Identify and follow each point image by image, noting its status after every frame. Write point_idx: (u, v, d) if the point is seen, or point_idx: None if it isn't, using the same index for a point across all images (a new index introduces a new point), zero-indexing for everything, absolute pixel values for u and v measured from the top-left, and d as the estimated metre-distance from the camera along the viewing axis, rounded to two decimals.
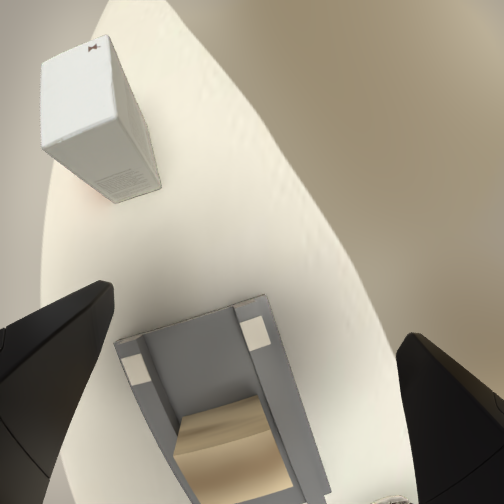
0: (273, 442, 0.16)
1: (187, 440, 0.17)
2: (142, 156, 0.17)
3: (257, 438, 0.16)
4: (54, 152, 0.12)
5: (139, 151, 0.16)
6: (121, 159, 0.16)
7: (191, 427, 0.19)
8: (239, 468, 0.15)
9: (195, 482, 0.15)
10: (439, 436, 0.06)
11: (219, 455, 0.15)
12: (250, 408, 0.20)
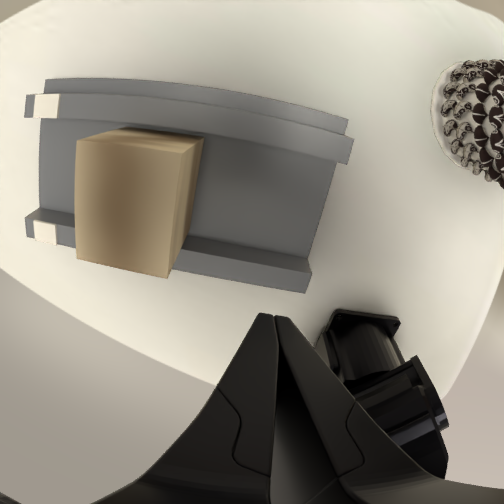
0: (94, 144, 0.12)
1: None
2: None
3: (80, 159, 0.12)
4: None
5: None
6: None
7: None
8: (112, 201, 0.13)
9: (116, 259, 0.14)
10: (281, 445, 0.06)
11: (87, 212, 0.13)
12: None
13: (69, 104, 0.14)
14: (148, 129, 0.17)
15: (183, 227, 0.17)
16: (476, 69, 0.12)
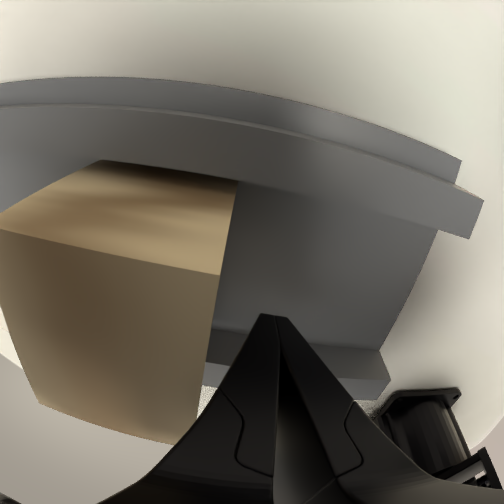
0: (14, 236, 0.05)
1: None
2: None
3: None
4: None
5: None
6: None
7: None
8: (73, 348, 0.06)
9: (102, 420, 0.07)
10: (280, 445, 0.06)
11: (35, 353, 0.06)
12: None
13: (6, 127, 0.07)
14: (138, 165, 0.10)
15: None
16: None
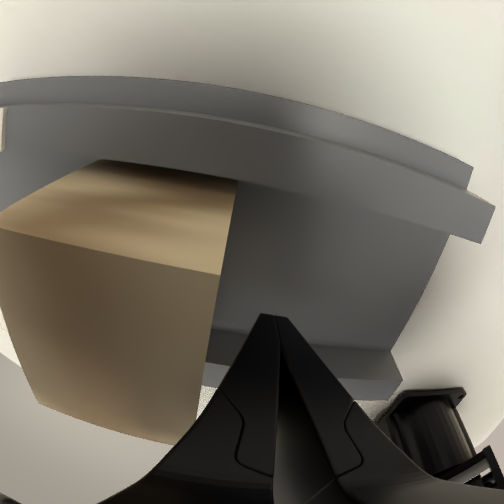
0: (14, 235, 0.05)
1: None
2: None
3: None
4: None
5: None
6: None
7: None
8: (72, 348, 0.06)
9: (102, 420, 0.07)
10: (280, 445, 0.06)
11: (34, 353, 0.06)
12: None
13: (19, 126, 0.07)
14: (137, 165, 0.10)
15: None
16: None
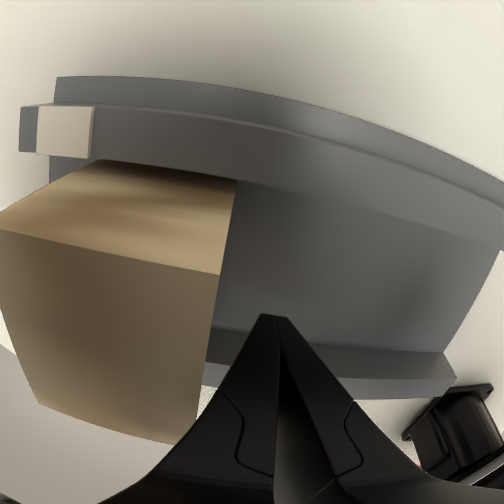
0: (13, 235, 0.05)
1: None
2: None
3: None
4: None
5: None
6: None
7: None
8: (72, 348, 0.06)
9: (102, 420, 0.07)
10: (280, 445, 0.06)
11: (34, 354, 0.06)
12: None
13: (115, 130, 0.08)
14: (137, 165, 0.10)
15: None
16: None
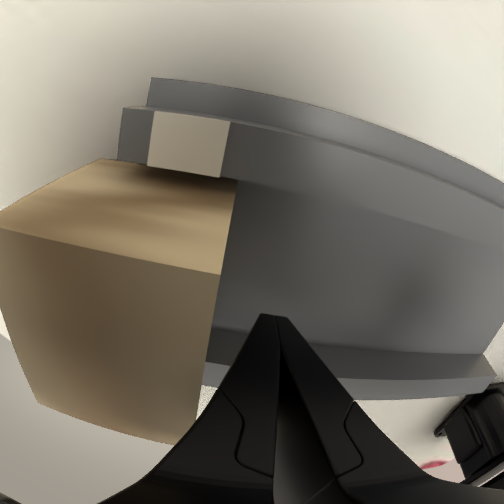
0: (13, 235, 0.05)
1: None
2: None
3: None
4: None
5: None
6: None
7: None
8: (72, 348, 0.06)
9: (101, 419, 0.07)
10: (280, 445, 0.06)
11: (34, 353, 0.06)
12: None
13: (253, 151, 0.08)
14: (137, 164, 0.10)
15: None
16: None
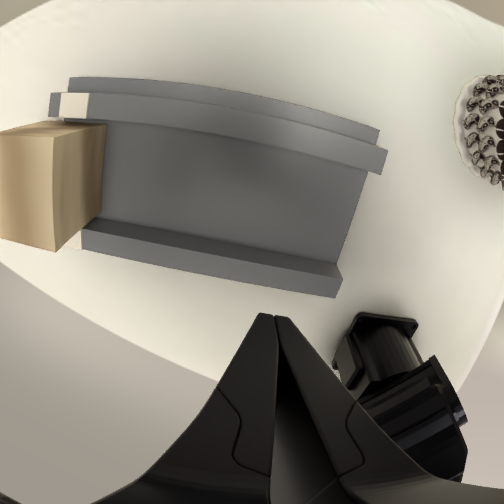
0: None
1: None
2: None
3: None
4: None
5: None
6: None
7: None
8: (11, 184, 0.12)
9: (19, 236, 0.14)
10: (281, 445, 0.06)
11: None
12: None
13: (99, 104, 0.14)
14: (62, 121, 0.16)
15: (82, 207, 0.16)
16: (498, 85, 0.12)
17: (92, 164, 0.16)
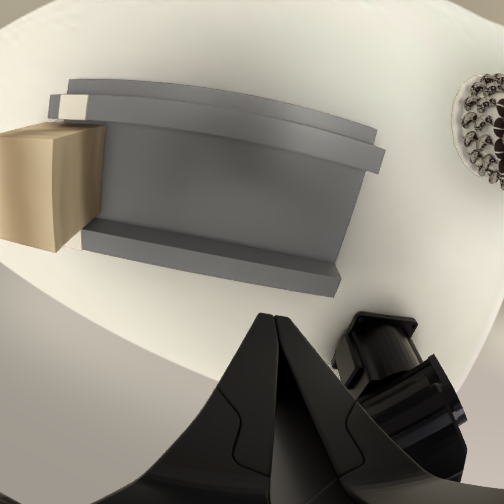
0: None
1: None
2: None
3: None
4: None
5: None
6: None
7: None
8: (12, 185, 0.12)
9: (20, 236, 0.14)
10: (281, 445, 0.06)
11: None
12: None
13: (98, 106, 0.15)
14: (62, 123, 0.16)
15: (81, 208, 0.16)
16: (496, 84, 0.13)
17: (91, 165, 0.16)
